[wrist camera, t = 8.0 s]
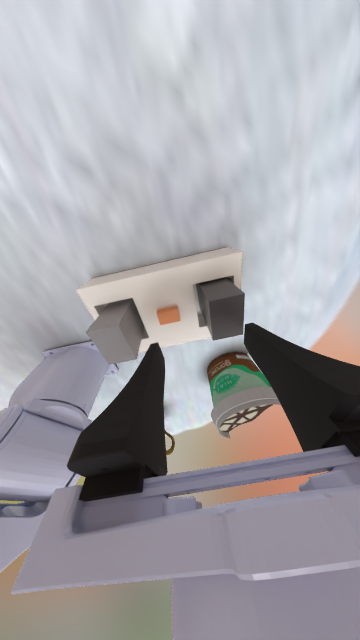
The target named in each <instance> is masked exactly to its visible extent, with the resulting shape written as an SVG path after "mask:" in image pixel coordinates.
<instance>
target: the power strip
mask: <svg viewBox="0 0 360 640" xmlns="http://www.w3.org/2000/svg"><path fill="white" fill-rule="evenodd" d="M223 277H226V278H227V279H228V280H229V281H230V282H232V283H233V284H234V285H235V286H236V287H238V288H239V289H240V290H241V279H242V251H239V250H236V249H232V248H229V247H226V248H221V249H217V250H213V251H208V252H204V253H200V254H196V255H191V256H187V257H183V258H178V259H174V260H170V261H165V262H161V263H157V264H152V265H148V266H144V267H139V268H135V269H131V270H126V271H122V272H118V273H113V274H109V275H105V276H101V277H96V278H92V279H91V280H89V281H88V282H86V283H85V284H83V285H82V286H80V287H79V288H78V289H76V292H77V293H78V295H79V297H80V298H81V300H82V301H83V303H84V304H85V306H86V307H87V309H88V311H89V312H90V314H91V315H92V317H93V318H94V320H96V319H97V317H98V316H99V315H100V314H101V312H102V311H103V310H104V308H105V307H106V306H107V305H108V303H111V302H115V301H120V300H124V299H129V298H133V300H134V302H135V305H136V307H137V310H138V312H139V314H140V317H141V319H142V321H143V324H144V330H143V334H142V339H141V343H140V347H139V352H144V351H147V350H148V348H149V346H150V344H152V343H157V342H158V343H159V346H160V348H163V347H168V346H173V345H178V344H183V343H188V342H193V341H198V340H203V339H208V338H212V337H211V334H210V332H209V330H208V327H207V325H206V322H205V320H204V317H203V315H202V312H201V310H200V307H199V301H198V294H197V288H196V283H201V282H205V281H210V280H214V279H219V278H223ZM139 352H138V353H139Z"/></svg>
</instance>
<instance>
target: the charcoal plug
mask: <svg viewBox="0 0 360 640" xmlns="http://www.w3.org/2000/svg"><path fill="white" fill-rule="evenodd" d="M143 330H144V324H143V321H142V319H141V317H140V314H139V312H138V310H137V307H136V305H135V302H134V300H133V298H129V299H124V300H120V301H115V302H111V303H108V305H107V306H106V307H105V308H104V310H103V311H102V312H101V314H100V315H99V316H98V317H97V319H96V320H95V321H94V323H93V324H92V325H91V326H90V328H89V329H88V330H87V332H86V333H87V335H88V336H89V337H90V339H91V340H92V342H93V343H94V344H95V346H96V347H97V348H98V350H99V351H100V353H101V354H102V355H103V357H104V358H105V360H106V361H107V362H108V364H109V365H110V364H115V363H120V362H125V361H130V360H135V359H137V356H138V352H139V347H140V343H141V339H142V334H143Z"/></svg>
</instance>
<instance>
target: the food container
mask: <svg viewBox="0 0 360 640" xmlns="http://www.w3.org/2000/svg"><path fill="white" fill-rule="evenodd" d="M207 372H208V378H209V384H210V389H211V395H212V401H213V406H214V408H213V410H212V413H211V417H212V420H213V422H214V424H215V426H216V429H217V430H218V431H219V433H220V434H221V435H222V436H223V437H226V438H230V435H229V431H231V430H232V429H233V428H235V427H237V426H238V425H241V424H244V423H247V422H250V421H252V420H254V419H255V418H256V417H257V416H259V415H260V414H261V413H262V412H263V411H264V410H266V409H267V408H268V407H270V406H272V405H273V404H278V405H281V404H280V402H279V400H278V398H277V396H276V394H275V392H274V391H273V389H272V387H271V385H270V384H269V382H268V380H267V379H266V377H265V376H264V375H263V374H262V372H261V371H260V370H259V369H258V367H257V366H256V365H255V364H254V363H253V361H252V360H251V359H250V358H249V356H248V355H247V354H244V353H239V352H232V353H226V354H224V355H221V356H219V357H217V358H215V359H214V360H213V361H212V362H211V363H210V364H209V366H208V370H207Z"/></svg>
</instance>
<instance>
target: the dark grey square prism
mask: <svg viewBox="0 0 360 640" xmlns="http://www.w3.org/2000/svg"><path fill="white" fill-rule="evenodd" d="M196 288H197V294H198V301H199V307H200V310H201V312H202V315H203V317H204V320H205V322H206V325H207V327H208V330H209V332H210V334H211V337H212V339H213V340H218V339H223V338H228V337H232V336H237V335H242V334H243V322H244V297H245V293H244V292H242V291H241V290H240V289H239V288H238V287H236V286H235V285H234V284H233V283H232V282H230V281H229V280H228V279H227V278H226V277H223V278H219V279H214V280H210V281H205V282H201V283H196Z"/></svg>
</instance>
